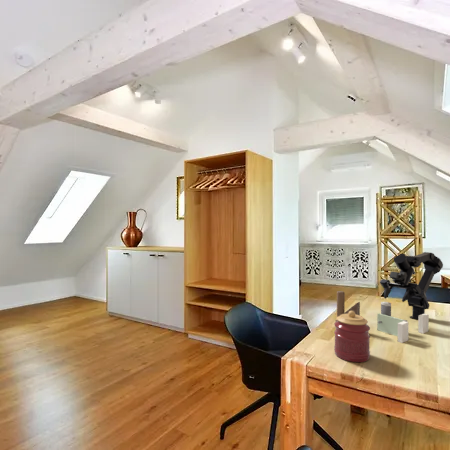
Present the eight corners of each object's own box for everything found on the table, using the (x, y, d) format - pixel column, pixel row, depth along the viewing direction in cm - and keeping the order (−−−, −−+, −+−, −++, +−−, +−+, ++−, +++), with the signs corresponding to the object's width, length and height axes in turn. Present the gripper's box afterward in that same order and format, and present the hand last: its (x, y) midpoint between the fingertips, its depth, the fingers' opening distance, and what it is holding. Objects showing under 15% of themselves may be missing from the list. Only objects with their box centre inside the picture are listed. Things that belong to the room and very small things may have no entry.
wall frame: (423, 329, 149) (424, 313, 149) (428, 331, 147) (428, 314, 147) (397, 341, 134) (397, 323, 134) (402, 342, 133) (402, 324, 133)
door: (407, 338, 138) (408, 320, 138) (404, 339, 136) (404, 321, 136) (379, 329, 149) (379, 313, 149) (375, 330, 148) (375, 314, 148)
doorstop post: (381, 327, 153) (381, 301, 153) (391, 328, 150) (391, 302, 150) (380, 329, 149) (380, 303, 149) (390, 331, 147) (390, 304, 147)
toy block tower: (357, 332, 145) (357, 295, 145) (335, 327, 152) (335, 291, 152) (359, 330, 148) (360, 293, 148) (338, 325, 155) (338, 290, 155)
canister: (352, 365, 111) (352, 317, 111) (327, 351, 123) (327, 308, 123) (377, 359, 116) (377, 313, 116) (351, 346, 128) (351, 305, 128)
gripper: (381, 264, 165) (369, 287, 159) (417, 267, 149) (405, 293, 143) (390, 277, 169) (378, 299, 163) (426, 281, 153) (415, 307, 147)
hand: (393, 299), depth 154 cm, fingers open, 9 cm apart
